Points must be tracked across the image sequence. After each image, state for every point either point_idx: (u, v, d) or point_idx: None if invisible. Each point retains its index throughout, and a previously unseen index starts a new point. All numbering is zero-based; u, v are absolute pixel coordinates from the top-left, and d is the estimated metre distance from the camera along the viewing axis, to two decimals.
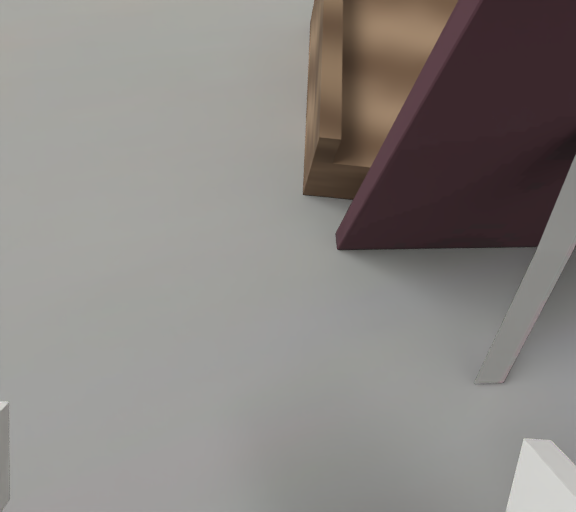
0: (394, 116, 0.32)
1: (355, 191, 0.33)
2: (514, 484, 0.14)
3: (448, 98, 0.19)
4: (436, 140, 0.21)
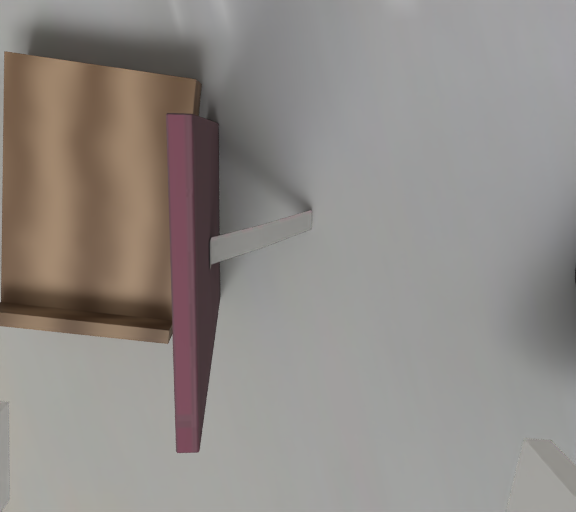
0: (133, 274, 0.46)
1: None
2: (514, 484, 0.14)
3: (210, 357, 0.36)
4: (212, 333, 0.38)
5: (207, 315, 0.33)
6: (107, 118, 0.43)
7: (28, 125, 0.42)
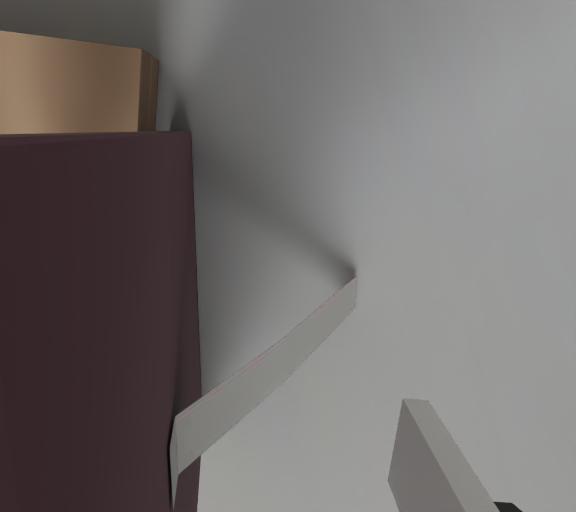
0: None
1: None
2: (396, 440, 0.15)
3: None
4: None
5: None
6: None
7: None
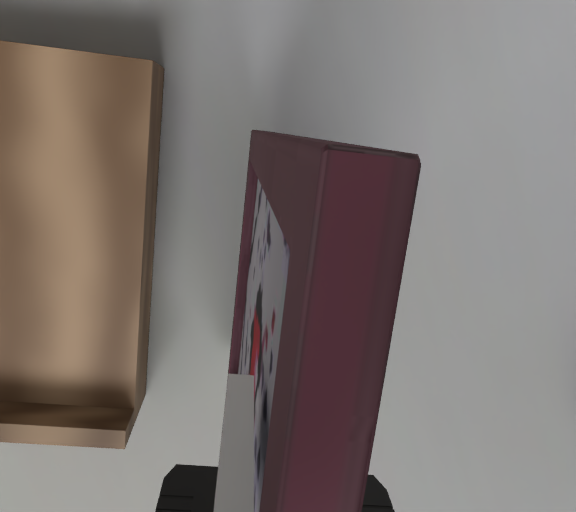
0: (72, 348, 0.31)
1: (144, 358, 0.35)
2: None
3: None
4: None
5: None
6: (19, 122, 0.28)
7: None
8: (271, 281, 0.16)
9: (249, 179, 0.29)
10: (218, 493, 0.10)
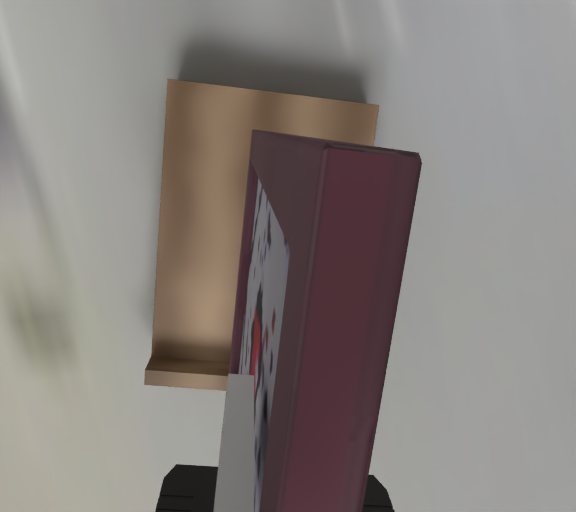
0: None
1: None
2: None
3: None
4: None
5: None
6: None
7: (190, 160, 0.38)
8: (271, 281, 0.16)
9: (249, 179, 0.29)
10: (218, 493, 0.10)
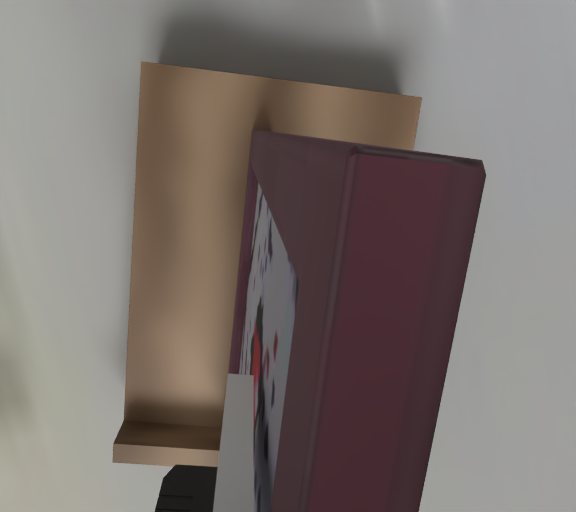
0: None
1: None
2: None
3: None
4: None
5: None
6: None
7: (172, 170, 0.28)
8: (273, 298, 0.14)
9: (249, 182, 0.27)
10: (218, 493, 0.10)
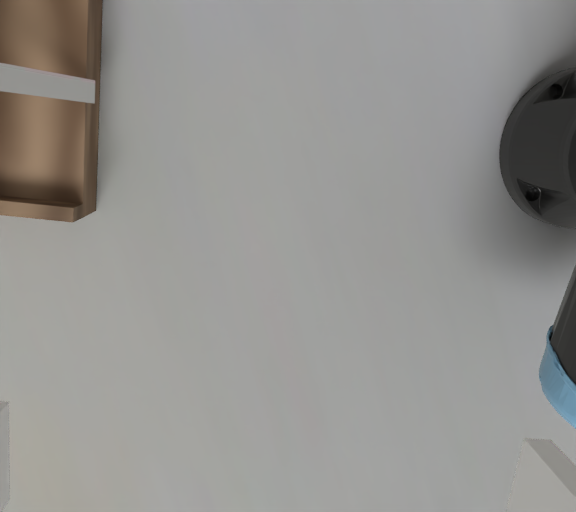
0: (37, 154, 0.44)
1: (93, 177, 0.48)
2: (514, 484, 0.14)
3: None
4: None
5: None
6: None
7: None
8: None
9: None
10: None
